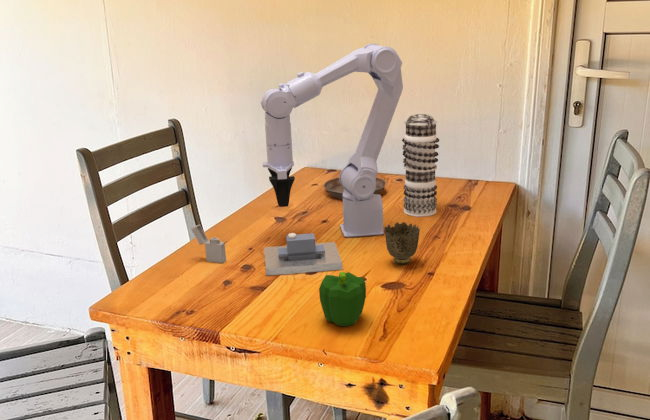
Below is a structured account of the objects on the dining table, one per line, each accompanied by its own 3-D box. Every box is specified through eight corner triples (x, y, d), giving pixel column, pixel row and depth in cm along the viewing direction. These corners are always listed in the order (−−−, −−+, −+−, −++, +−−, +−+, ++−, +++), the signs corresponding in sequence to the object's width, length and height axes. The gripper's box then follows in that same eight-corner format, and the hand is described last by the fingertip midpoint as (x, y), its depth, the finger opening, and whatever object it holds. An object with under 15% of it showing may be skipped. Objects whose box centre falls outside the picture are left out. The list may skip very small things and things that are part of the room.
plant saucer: (314, 190, 198) (313, 180, 197) (367, 181, 205) (367, 171, 204) (340, 207, 183) (340, 196, 182) (397, 196, 190) (397, 186, 189)
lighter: (226, 260, 150) (223, 226, 147) (222, 263, 148) (219, 228, 146) (198, 256, 152) (194, 223, 150) (194, 259, 151) (190, 226, 148)
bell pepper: (327, 307, 127) (325, 257, 124) (370, 311, 124) (369, 261, 121) (313, 328, 119) (311, 276, 116) (359, 333, 117) (358, 280, 114)
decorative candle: (434, 218, 171) (436, 120, 163) (398, 215, 174) (398, 119, 166) (440, 207, 179) (442, 113, 171) (406, 204, 182) (406, 112, 174)
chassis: (335, 248, 154) (334, 242, 154) (342, 269, 143) (342, 262, 142) (264, 254, 153) (264, 247, 152) (266, 275, 141) (265, 268, 141)
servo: (323, 255, 150) (322, 229, 148) (325, 262, 146) (324, 234, 144) (278, 259, 149) (276, 232, 147) (279, 265, 145) (277, 238, 143)
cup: (396, 272, 140) (396, 236, 138) (378, 260, 147) (377, 226, 144) (426, 265, 143) (427, 229, 141) (406, 253, 150) (406, 219, 147)
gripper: (260, 137, 159) (264, 193, 163) (262, 152, 145) (266, 212, 149) (290, 135, 159) (293, 191, 164) (295, 150, 146) (298, 210, 150)
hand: (282, 201), depth 156 cm, fingers open, 7 cm apart
